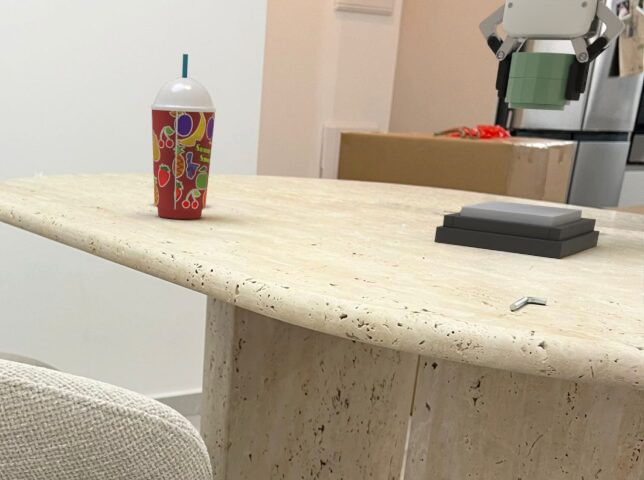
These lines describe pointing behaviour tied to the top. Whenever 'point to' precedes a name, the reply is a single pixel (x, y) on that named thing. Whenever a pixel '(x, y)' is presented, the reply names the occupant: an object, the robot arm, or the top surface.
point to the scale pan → (522, 213)
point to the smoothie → (182, 146)
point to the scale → (518, 235)
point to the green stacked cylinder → (538, 80)
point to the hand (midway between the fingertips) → (537, 97)
